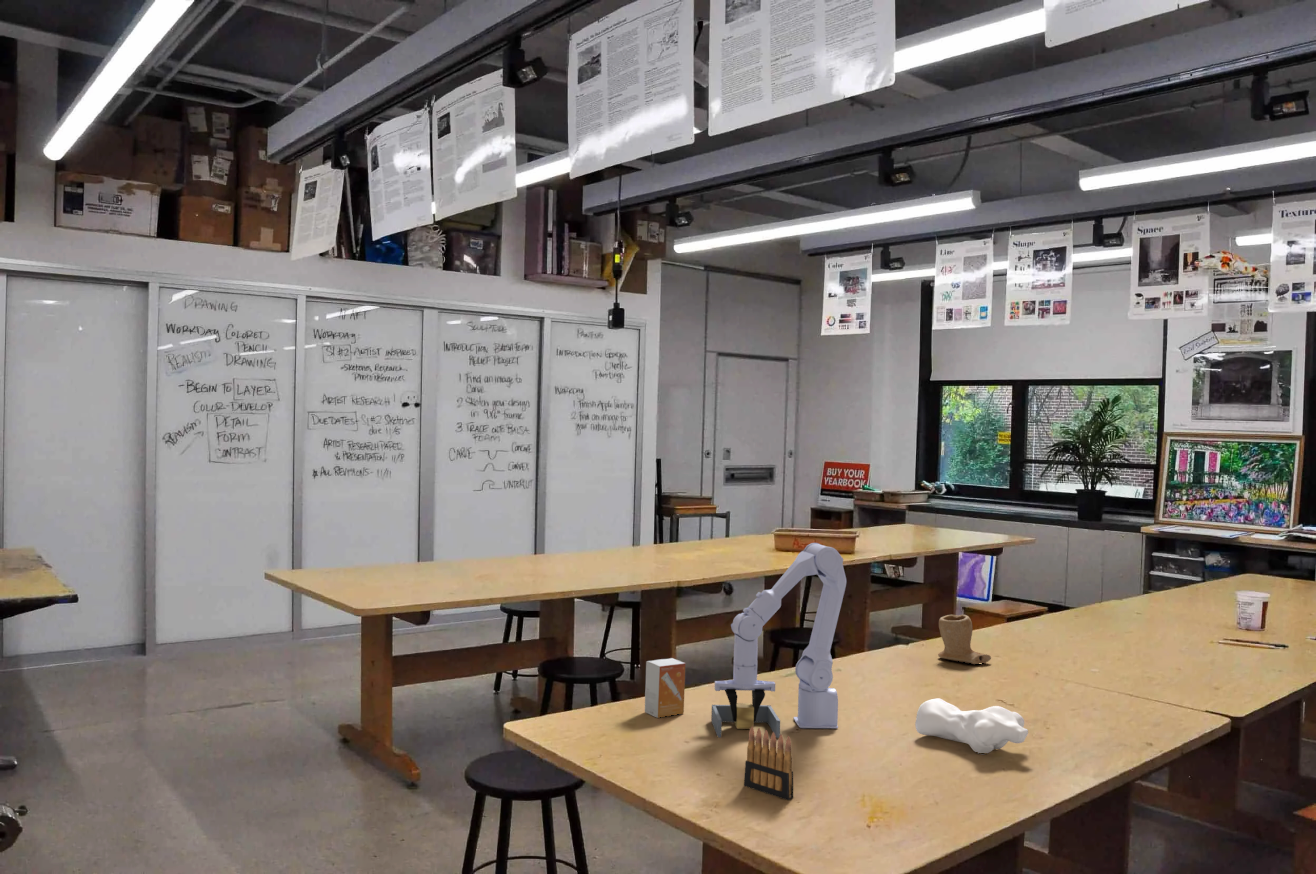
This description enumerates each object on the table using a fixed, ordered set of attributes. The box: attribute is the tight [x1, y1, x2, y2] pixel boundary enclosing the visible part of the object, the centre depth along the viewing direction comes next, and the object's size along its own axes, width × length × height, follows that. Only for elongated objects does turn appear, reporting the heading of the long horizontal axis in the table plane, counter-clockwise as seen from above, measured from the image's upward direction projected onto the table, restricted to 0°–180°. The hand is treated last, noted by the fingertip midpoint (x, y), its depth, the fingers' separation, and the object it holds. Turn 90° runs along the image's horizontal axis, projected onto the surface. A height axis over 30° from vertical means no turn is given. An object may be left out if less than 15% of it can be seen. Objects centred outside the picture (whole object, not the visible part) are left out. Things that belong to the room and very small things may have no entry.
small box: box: [644, 657, 686, 719], centre depth 241 cm, size 8×6×13 cm
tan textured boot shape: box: [937, 614, 992, 665], centre depth 308 cm, size 15×12×15 cm
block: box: [734, 702, 755, 730], centre depth 231 cm, size 4×4×5 cm
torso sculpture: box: [914, 697, 1029, 754], centre depth 221 cm, size 18×10×25 cm
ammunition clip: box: [743, 726, 794, 801], centre depth 189 cm, size 11×2×12 cm, turn 48°
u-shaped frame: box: [710, 704, 781, 739], centre depth 230 cm, size 15×13×4 cm
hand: (744, 720), depth 231 cm, fingers closed on block, 4 cm apart
